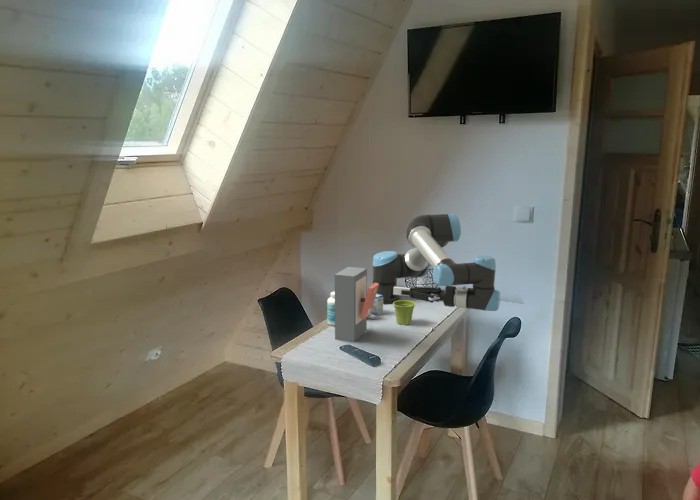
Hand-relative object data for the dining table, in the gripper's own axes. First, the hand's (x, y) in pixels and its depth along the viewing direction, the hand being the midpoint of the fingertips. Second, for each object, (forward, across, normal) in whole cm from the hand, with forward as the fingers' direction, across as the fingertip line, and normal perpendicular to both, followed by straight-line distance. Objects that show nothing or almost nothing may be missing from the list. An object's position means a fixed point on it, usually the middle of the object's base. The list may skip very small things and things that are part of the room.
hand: (394, 290), depth 208 cm
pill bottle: (+29, -10, +20) cm, 37 cm away
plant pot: (+2, -22, +20) cm, 30 cm away
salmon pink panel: (+11, 0, +12) cm, 16 cm away
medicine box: (+19, -30, +20) cm, 41 cm away
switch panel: (+16, 0, +20) cm, 26 cm away
